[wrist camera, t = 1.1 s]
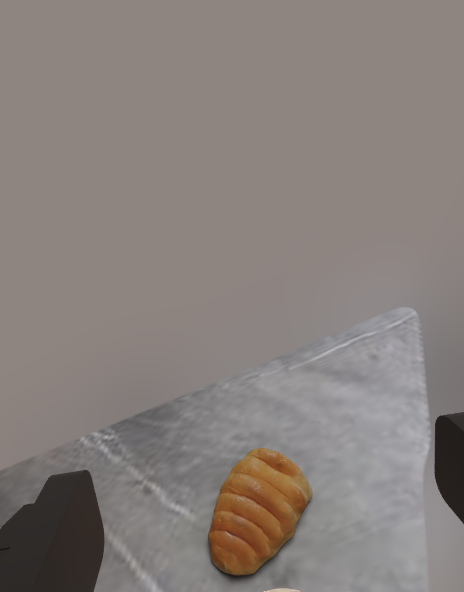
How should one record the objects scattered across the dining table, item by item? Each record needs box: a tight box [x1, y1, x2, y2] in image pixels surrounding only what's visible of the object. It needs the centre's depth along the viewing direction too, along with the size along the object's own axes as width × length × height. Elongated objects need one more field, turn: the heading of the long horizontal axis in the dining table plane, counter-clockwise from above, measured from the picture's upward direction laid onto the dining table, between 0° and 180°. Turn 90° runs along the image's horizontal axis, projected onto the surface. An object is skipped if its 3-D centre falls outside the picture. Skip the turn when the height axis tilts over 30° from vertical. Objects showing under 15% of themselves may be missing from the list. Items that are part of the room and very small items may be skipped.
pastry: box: [208, 448, 312, 575], centre depth 30 cm, size 9×7×4 cm
